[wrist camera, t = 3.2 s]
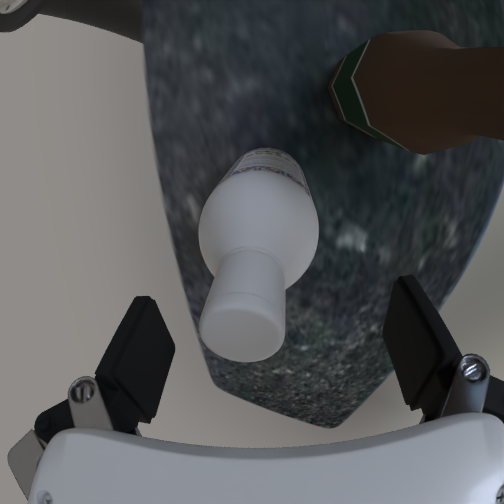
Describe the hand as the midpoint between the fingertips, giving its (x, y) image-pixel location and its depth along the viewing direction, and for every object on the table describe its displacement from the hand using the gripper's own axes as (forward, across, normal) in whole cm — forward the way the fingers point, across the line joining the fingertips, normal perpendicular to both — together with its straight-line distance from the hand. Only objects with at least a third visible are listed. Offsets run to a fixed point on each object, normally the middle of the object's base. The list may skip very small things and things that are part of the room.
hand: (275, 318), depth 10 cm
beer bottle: (+19, -10, -8) cm, 23 cm away
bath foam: (+19, 0, 0) cm, 19 cm away
